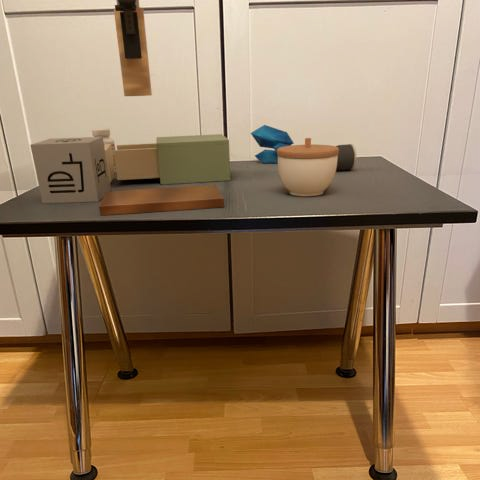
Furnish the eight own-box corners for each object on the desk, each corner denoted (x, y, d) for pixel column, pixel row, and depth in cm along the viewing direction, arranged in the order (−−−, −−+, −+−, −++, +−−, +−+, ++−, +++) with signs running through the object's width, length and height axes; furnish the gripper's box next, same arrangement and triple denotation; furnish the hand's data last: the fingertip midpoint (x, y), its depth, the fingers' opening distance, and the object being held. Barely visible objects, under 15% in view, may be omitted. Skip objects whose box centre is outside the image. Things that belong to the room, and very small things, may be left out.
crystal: (298, 134, 114) (250, 123, 115) (290, 171, 118) (242, 160, 119) (300, 131, 121) (254, 121, 121) (291, 166, 125) (247, 156, 125)
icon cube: (98, 201, 86) (88, 142, 82) (42, 203, 86) (30, 144, 82) (110, 190, 95) (102, 136, 91) (60, 192, 95) (50, 138, 91)
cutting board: (100, 215, 77) (98, 206, 76) (107, 199, 88) (106, 191, 87) (224, 207, 79) (223, 198, 79) (216, 192, 90) (215, 184, 89)
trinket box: (278, 200, 83) (279, 142, 79) (275, 188, 92) (275, 136, 88) (341, 198, 83) (344, 140, 78) (331, 186, 92) (333, 134, 88)
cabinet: (160, 184, 99) (156, 143, 96) (160, 174, 110) (156, 137, 107) (230, 180, 101) (229, 139, 97) (223, 171, 112) (221, 134, 109)
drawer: (82, 184, 97) (77, 151, 95) (89, 175, 107) (84, 145, 105) (171, 179, 100) (168, 147, 97) (170, 170, 110) (167, 141, 107)
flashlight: (288, 176, 103) (289, 149, 101) (281, 172, 108) (281, 147, 106) (355, 171, 106) (357, 145, 104) (345, 167, 111) (347, 142, 108)
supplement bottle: (96, 171, 118) (89, 128, 113) (118, 170, 118) (113, 127, 114) (94, 175, 113) (87, 130, 108) (117, 173, 114) (111, 129, 109)
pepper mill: (123, 96, 82) (111, -6, 76) (124, 96, 87) (113, -1, 80) (151, 95, 83) (142, -6, 77) (151, 95, 87) (142, -1, 81)
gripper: (138, -142, 65) (156, 55, 75) (140, -97, 81) (155, 61, 91) (81, -144, 64) (107, 56, 74) (94, -98, 79) (114, 62, 90)
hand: (133, 58), depth 82 cm, fingers closed on pepper mill, 5 cm apart
